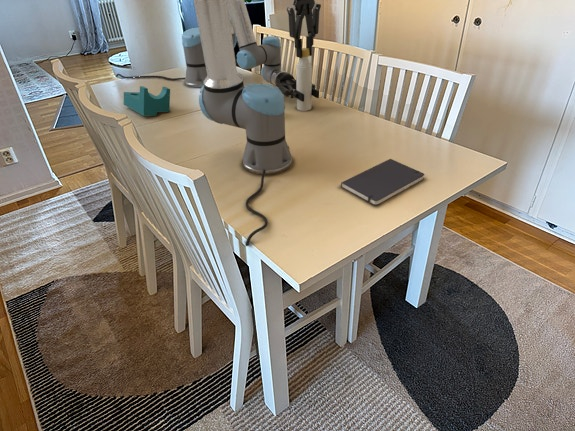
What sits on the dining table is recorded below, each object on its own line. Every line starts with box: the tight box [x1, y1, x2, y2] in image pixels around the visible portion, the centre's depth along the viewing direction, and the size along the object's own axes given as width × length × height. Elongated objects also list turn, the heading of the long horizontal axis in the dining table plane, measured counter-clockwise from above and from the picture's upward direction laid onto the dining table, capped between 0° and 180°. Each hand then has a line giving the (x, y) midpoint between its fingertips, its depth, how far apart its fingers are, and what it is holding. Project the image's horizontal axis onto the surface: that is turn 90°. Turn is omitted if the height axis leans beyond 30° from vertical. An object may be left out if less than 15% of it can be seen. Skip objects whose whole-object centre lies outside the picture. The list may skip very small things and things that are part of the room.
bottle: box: [295, 56, 313, 112], centre depth 157 cm, size 6×6×22 cm
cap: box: [302, 47, 310, 58], centre depth 151 cm, size 4×4×2 cm
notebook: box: [340, 158, 425, 206], centre depth 114 cm, size 13×2×21 cm
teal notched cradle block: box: [123, 85, 171, 117], centre depth 163 cm, size 18×11×10 cm, turn 43°
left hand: (310, 96), depth 156 cm, fingers closed on bottle, 6 cm apart
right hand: (304, 56), depth 152 cm, fingers closed on cap, 4 cm apart
